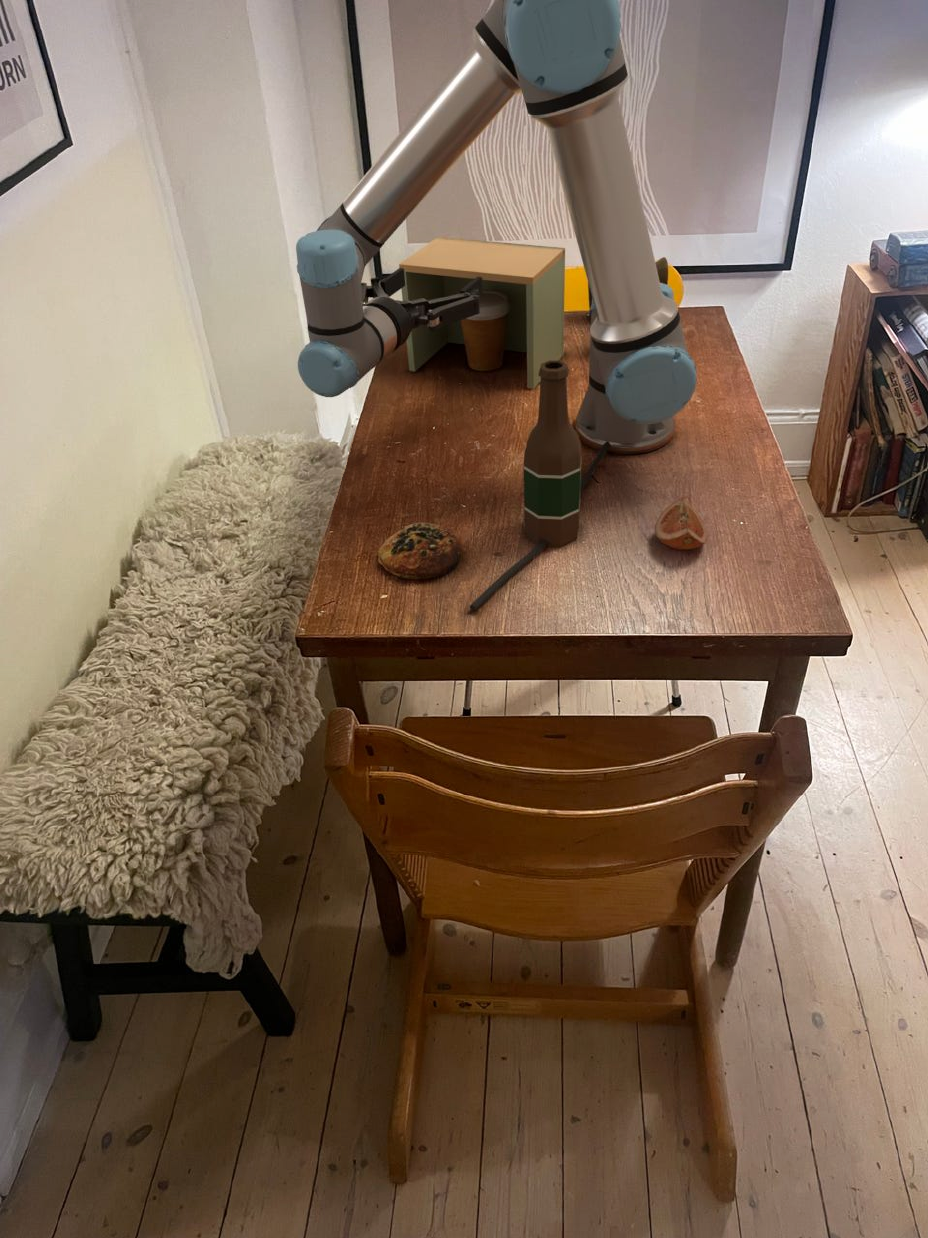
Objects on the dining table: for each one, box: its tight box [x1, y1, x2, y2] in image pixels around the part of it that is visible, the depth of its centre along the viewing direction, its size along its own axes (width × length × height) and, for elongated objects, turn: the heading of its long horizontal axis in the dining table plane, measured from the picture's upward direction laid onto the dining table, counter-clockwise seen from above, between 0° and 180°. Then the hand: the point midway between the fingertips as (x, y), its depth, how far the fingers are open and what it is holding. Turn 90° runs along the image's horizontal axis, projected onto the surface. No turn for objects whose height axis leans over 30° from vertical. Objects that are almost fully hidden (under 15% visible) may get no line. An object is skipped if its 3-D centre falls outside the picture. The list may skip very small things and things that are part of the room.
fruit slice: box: [654, 496, 708, 550], centre depth 118 cm, size 8×7×5 cm
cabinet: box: [398, 236, 566, 390], centre depth 162 cm, size 15×24×19 cm, turn 65°
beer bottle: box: [523, 360, 583, 548], centre depth 116 cm, size 8×8×24 cm
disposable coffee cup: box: [461, 290, 510, 372], centre depth 163 cm, size 10×10×12 cm
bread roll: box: [377, 522, 462, 580], centre depth 120 cm, size 11×11×5 cm
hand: (440, 280), depth 144 cm, fingers open, 13 cm apart
